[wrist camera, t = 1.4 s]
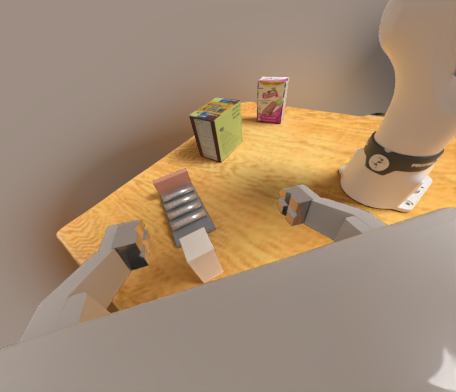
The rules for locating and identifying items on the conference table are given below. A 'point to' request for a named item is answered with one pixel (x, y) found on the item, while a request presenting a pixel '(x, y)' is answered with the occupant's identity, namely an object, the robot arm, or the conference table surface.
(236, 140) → the protein box
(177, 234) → the roller track
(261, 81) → the candy bar box
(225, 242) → the conference table surface
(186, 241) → the wooden block
